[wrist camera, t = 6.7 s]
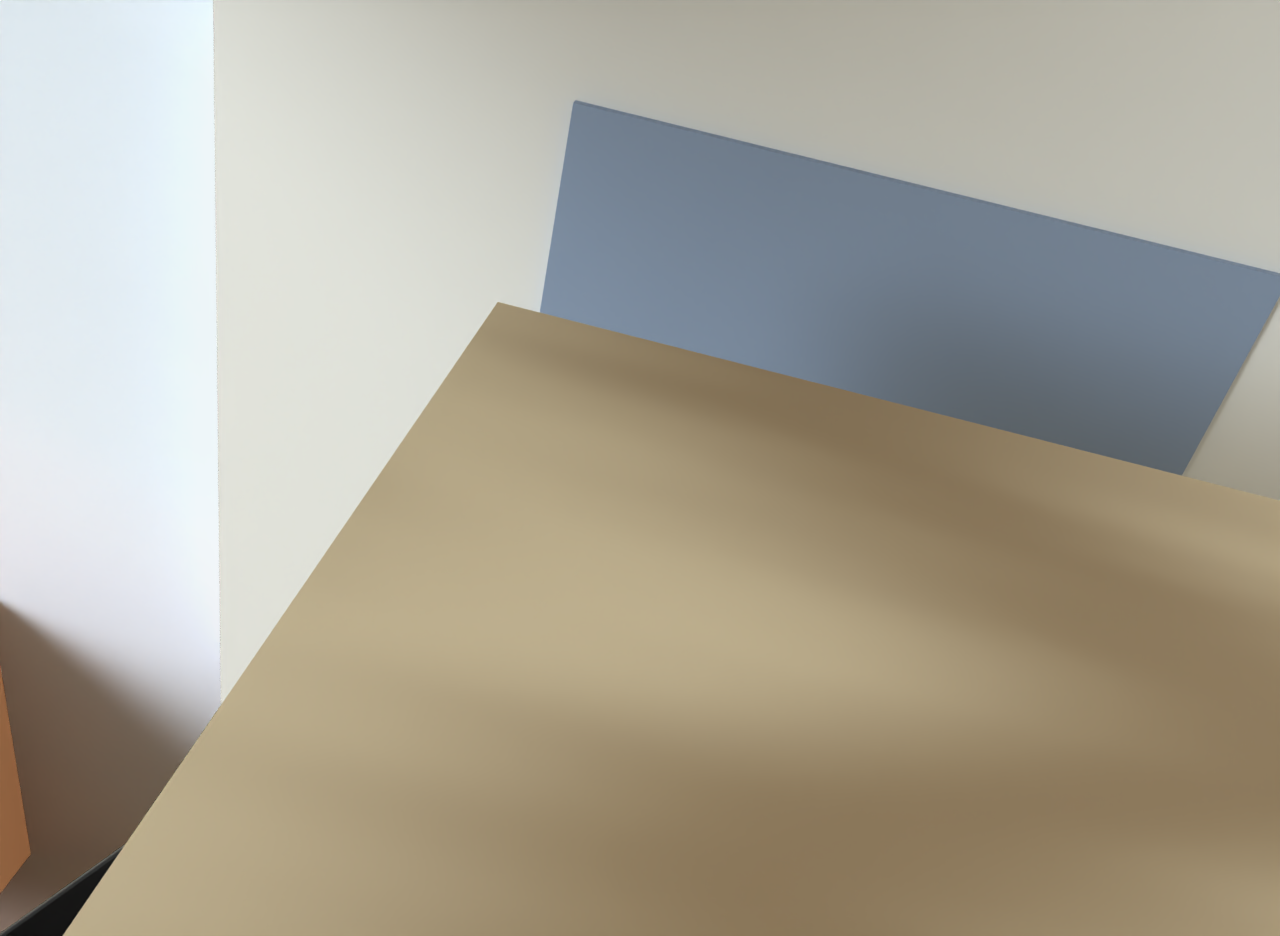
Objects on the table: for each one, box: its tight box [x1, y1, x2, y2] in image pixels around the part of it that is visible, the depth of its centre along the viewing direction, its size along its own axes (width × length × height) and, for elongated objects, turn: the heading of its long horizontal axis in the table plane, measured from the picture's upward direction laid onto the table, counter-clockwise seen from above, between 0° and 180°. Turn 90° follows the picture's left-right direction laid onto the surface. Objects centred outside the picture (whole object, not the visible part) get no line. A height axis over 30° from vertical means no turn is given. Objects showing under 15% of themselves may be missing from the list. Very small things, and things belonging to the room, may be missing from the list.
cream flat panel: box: [213, 0, 1280, 704], centre depth 13 cm, size 12×14×1 cm
